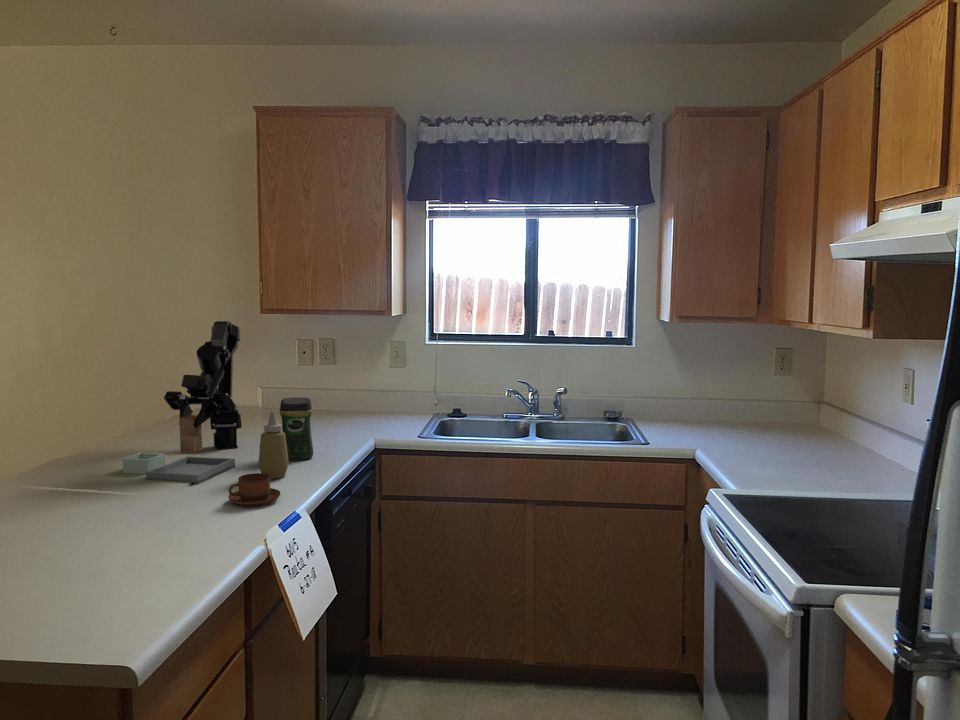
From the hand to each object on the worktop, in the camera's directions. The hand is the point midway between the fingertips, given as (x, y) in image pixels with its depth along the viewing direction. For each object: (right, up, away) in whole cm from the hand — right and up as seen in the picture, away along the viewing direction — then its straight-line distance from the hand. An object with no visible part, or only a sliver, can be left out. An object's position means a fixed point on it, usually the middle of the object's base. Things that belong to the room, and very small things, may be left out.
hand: (187, 426), depth 197 cm
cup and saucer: (+25, -16, -23) cm, 38 cm away
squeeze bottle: (+23, -14, 0) cm, 27 cm away
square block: (0, -7, +2) cm, 7 cm away
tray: (0, -13, +3) cm, 14 cm away
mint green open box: (-14, -13, +4) cm, 19 cm away
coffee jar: (+24, -12, +22) cm, 35 cm away
